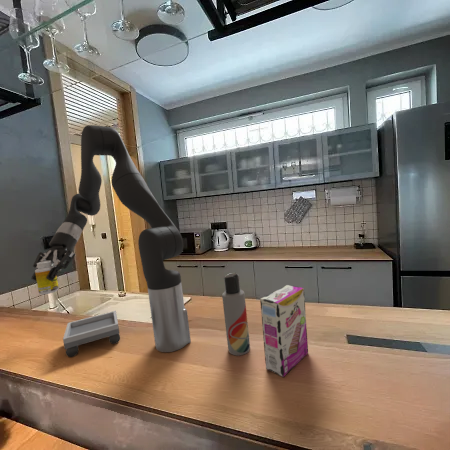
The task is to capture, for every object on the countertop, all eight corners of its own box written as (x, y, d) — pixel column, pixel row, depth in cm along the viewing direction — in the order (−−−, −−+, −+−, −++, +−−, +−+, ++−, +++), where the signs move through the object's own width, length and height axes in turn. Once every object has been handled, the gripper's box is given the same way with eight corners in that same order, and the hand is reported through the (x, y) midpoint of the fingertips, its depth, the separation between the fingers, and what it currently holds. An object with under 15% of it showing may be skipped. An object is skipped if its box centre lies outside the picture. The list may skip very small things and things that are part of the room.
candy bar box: (284, 379, 54) (277, 303, 53) (265, 369, 58) (258, 298, 56) (310, 353, 62) (304, 286, 61) (291, 346, 66) (286, 283, 64)
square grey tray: (118, 327, 88) (115, 310, 87) (120, 342, 77) (118, 323, 76) (70, 340, 82) (67, 322, 81) (66, 359, 71) (62, 339, 70)
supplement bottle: (55, 293, 83) (49, 262, 82) (35, 296, 82) (29, 265, 81) (62, 288, 89) (56, 258, 88) (44, 291, 88) (38, 261, 87)
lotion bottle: (249, 356, 63) (240, 276, 62) (226, 355, 65) (217, 277, 63) (251, 343, 69) (243, 270, 67) (230, 343, 70) (222, 271, 68)
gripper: (42, 233, 93) (14, 275, 82) (75, 229, 89) (50, 273, 79) (58, 244, 98) (33, 285, 88) (89, 242, 95) (68, 284, 84)
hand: (41, 279), depth 83 cm, fingers closed on supplement bottle, 5 cm apart
